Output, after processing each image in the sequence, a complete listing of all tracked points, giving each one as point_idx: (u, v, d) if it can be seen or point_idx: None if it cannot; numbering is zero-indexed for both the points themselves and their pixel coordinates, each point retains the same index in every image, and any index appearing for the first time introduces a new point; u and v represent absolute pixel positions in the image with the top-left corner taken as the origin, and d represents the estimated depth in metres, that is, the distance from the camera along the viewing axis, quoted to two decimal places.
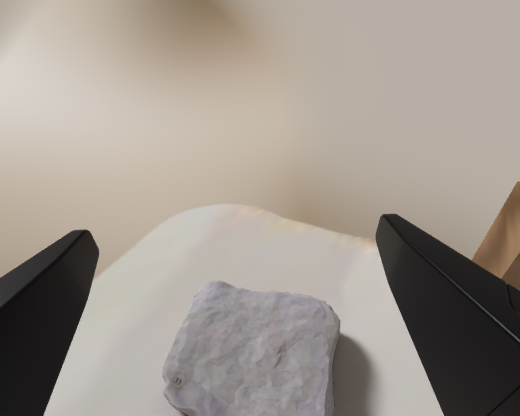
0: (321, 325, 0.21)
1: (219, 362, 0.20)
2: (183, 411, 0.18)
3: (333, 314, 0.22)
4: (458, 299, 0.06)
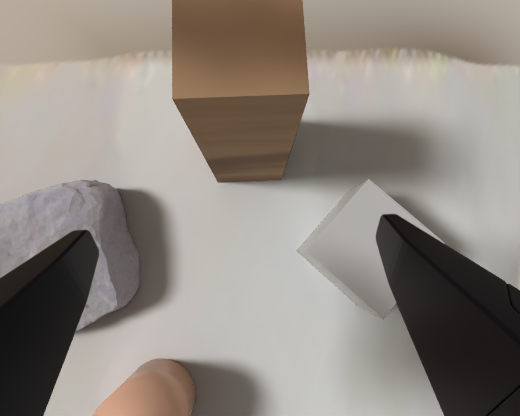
0: (81, 215, 0.19)
1: None
2: None
3: (93, 192, 0.20)
4: (458, 299, 0.06)
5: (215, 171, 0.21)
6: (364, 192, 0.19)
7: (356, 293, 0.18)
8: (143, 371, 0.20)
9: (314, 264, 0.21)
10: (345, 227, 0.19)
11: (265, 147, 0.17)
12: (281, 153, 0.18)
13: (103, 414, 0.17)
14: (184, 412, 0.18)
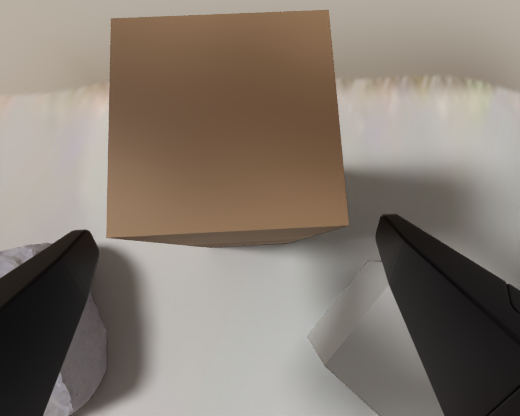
0: None
1: None
2: None
3: None
4: (458, 299, 0.06)
5: (202, 246, 0.16)
6: None
7: None
8: None
9: None
10: (377, 332, 0.14)
11: (269, 239, 0.12)
12: (290, 239, 0.13)
13: None
14: None
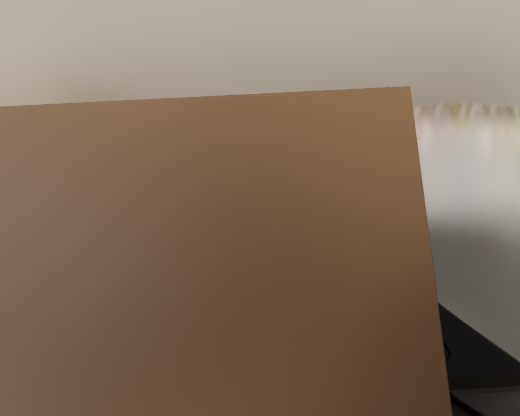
0: None
1: None
2: None
3: None
4: None
5: None
6: None
7: None
8: None
9: None
10: None
11: None
12: None
13: None
14: None
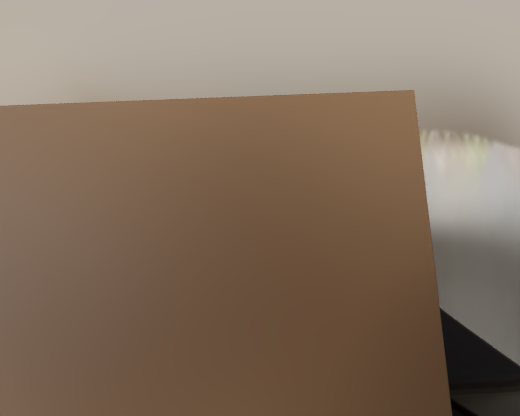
0: None
1: None
2: None
3: None
4: None
5: None
6: None
7: None
8: None
9: None
10: None
11: None
12: None
13: None
14: None
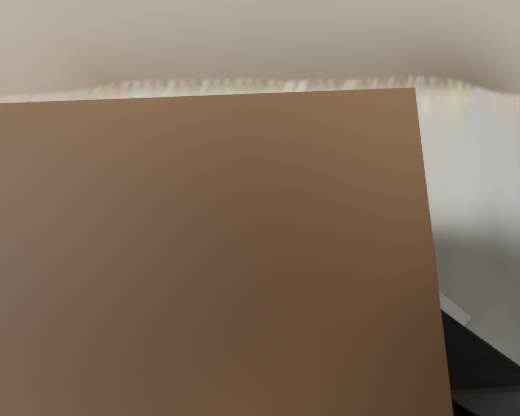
0: None
1: None
2: None
3: None
4: None
5: None
6: None
7: None
8: None
9: None
10: None
11: None
12: None
13: None
14: None
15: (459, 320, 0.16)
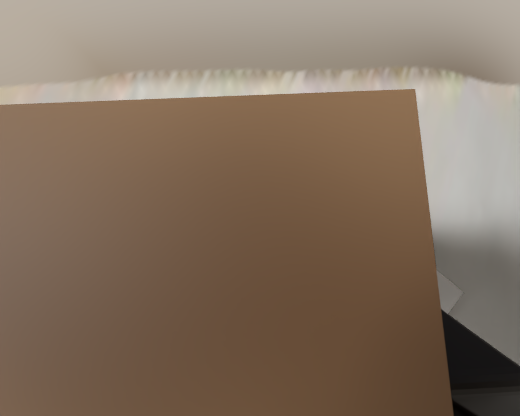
0: None
1: None
2: None
3: None
4: None
5: None
6: None
7: None
8: None
9: None
10: None
11: None
12: None
13: None
14: None
15: (452, 295, 0.17)
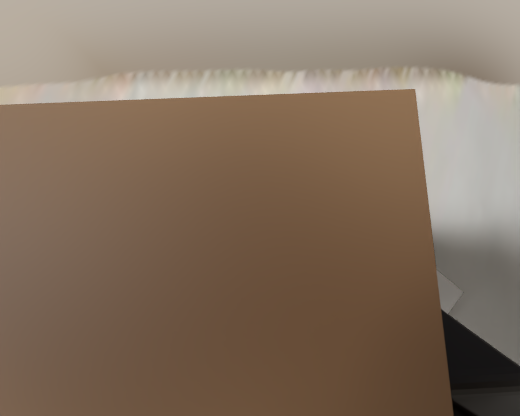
0: None
1: None
2: None
3: None
4: None
5: None
6: None
7: None
8: None
9: None
10: None
11: None
12: None
13: None
14: None
15: (452, 295, 0.17)
